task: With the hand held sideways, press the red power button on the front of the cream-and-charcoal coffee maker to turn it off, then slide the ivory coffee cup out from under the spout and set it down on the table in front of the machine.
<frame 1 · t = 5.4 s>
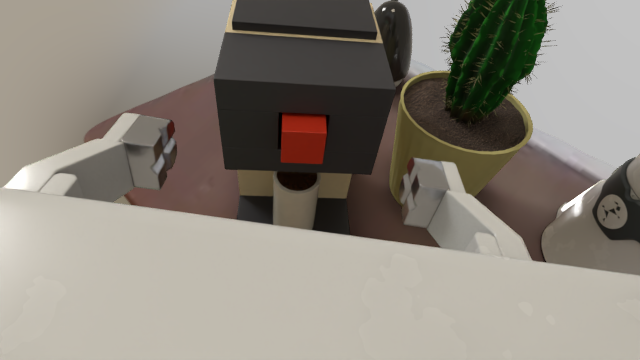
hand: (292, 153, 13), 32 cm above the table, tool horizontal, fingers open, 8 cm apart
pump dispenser: (376, 83, 73), on the table
potted cactus: (427, 189, 56), on the table
coffee cup: (293, 220, 48), point 1 cm above the table, touching coffee maker
power button: (302, 135, 33), point 19 cm above the table, slide at 0.1 cm
coffee maker: (293, 204, 52), on the table
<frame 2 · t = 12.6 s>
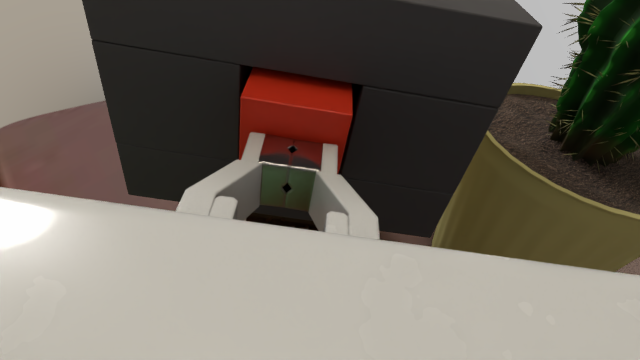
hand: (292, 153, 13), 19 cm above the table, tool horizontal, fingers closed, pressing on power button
potted cactus: (489, 267, 36), on the table
coffee cup: (272, 300, 28), point 1 cm above the table, touching coffee maker
power button: (295, 124, 15), point 19 cm above the table, slide at -0.3 cm, touching gripper
coffee maker: (278, 269, 32), on the table
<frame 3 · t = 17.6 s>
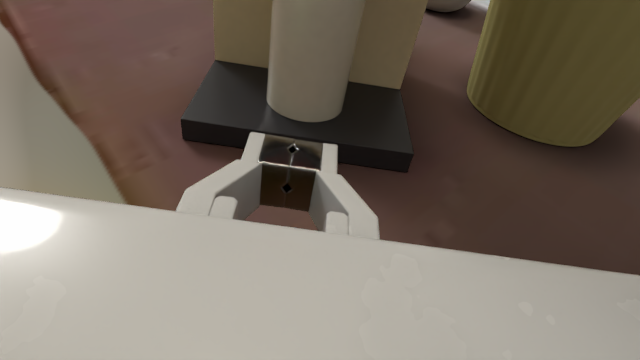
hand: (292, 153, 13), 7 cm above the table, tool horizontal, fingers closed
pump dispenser: (433, 6, 53), on the table
potted cactus: (529, 109, 34), on the table
coffee cup: (304, 100, 26), point 1 cm above the table, touching coffee maker
coffee maker: (306, 92, 30), on the table
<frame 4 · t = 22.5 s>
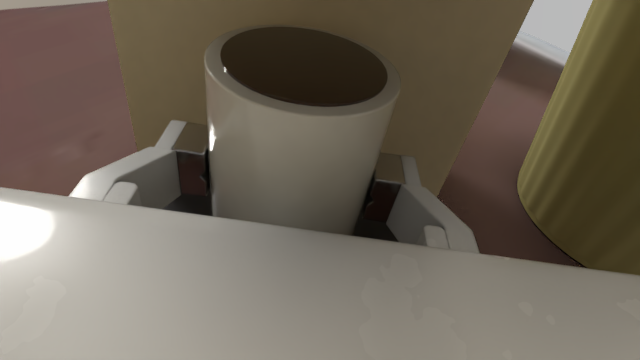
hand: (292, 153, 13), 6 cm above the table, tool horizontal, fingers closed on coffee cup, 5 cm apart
potted cactus: (608, 219, 24), on the table
coffee cup: (279, 257, 16), point 2 cm above the table, touching coffee maker, gripper
coffee maker: (285, 214, 20), on the table
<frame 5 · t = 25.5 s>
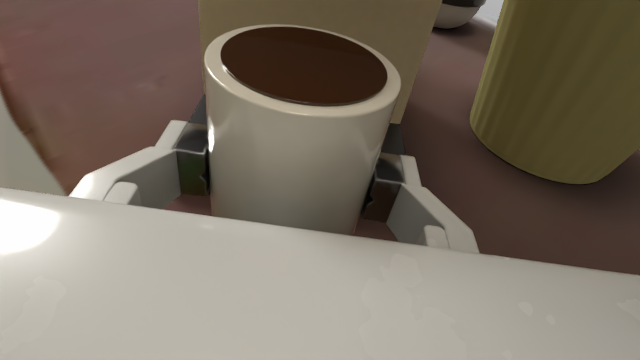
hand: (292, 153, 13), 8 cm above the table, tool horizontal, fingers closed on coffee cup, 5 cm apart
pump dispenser: (434, 22, 51), on the table
potted cactus: (535, 140, 32), on the table
coffee cup: (279, 257, 16), point 3 cm above the table, touching gripper
coffee maker: (300, 127, 28), on the table
when the fingers open (5 cm above the table, at t = 28.8 s): coffee cup stays where it is, on the table.
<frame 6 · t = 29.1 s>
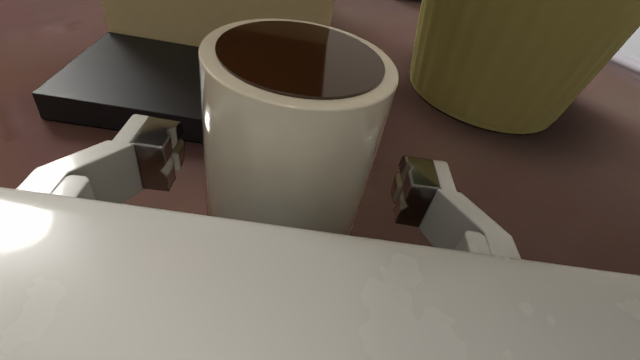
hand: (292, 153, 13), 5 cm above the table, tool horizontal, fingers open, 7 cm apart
potted cactus: (479, 94, 30), on the table
coffee cup: (276, 255, 16), on the table
coffee maker: (217, 71, 26), on the table
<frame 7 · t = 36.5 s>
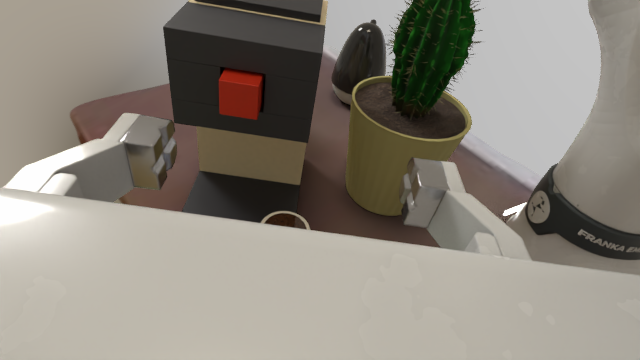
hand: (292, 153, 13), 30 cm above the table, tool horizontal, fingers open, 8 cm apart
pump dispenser: (353, 99, 78), on the table
potted cactus: (381, 189, 59), on the table
coffee cup: (278, 277, 44), on the table
power button: (242, 92, 37), point 19 cm above the table, slide at 0.1 cm
coffee maker: (249, 185, 55), on the table
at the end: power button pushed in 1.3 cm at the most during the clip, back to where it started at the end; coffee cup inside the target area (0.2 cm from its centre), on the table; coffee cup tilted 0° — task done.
